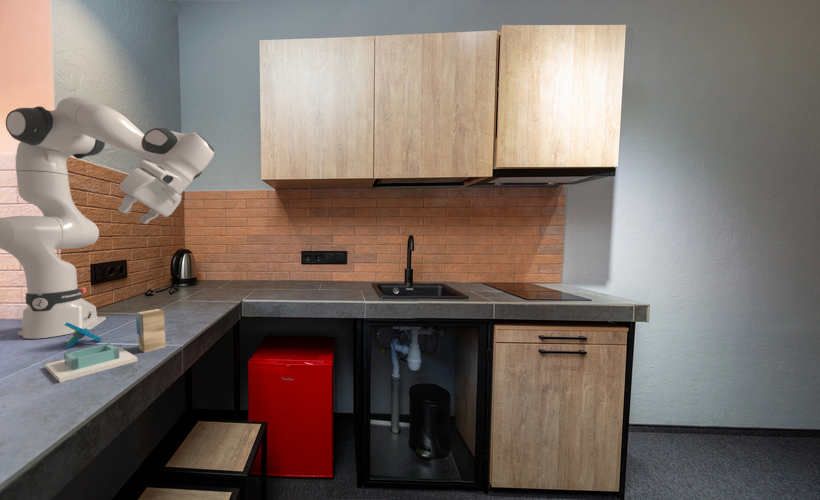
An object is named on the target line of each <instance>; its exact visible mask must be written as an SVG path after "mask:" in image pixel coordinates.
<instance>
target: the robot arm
mask: <svg viewBox="0 0 820 500" xmlns="http://www.w3.org/2000/svg"><path fill="white" fill-rule="evenodd" d="M5 127H6V130H7V132H8V133H9V136H11V138H13V139H14V140H16V141H18V142H19V143H18V144H17V149H16V153H15V155H16V156H15V172H16V181H17V190H18V195H19V197H20V198H21V199H22V200H23V201H25V202H27V203H29V204H31V205H34V206H36V207H37V208H38V209H39V210H40V211H41V213H42V215H43V216H41V215H38V216H37V215H14V216H5V217H0V249H1V250H3V251H5V252H7V253H8V254H10V255H12V256H13V257H14V258H15V259H16V260H17V261H18V262H19V264H20V265H21V268H22V269H23V272H24V277H25V281H26V288H27V292H26V293H25V297H24V299H25V304H26V305H27V307H26V308H24V309H23V311H22V319H21V320H22V323H21V331H18V333H17V335H18V336H19V337H22V338H23V339H30V340H32V339H44V338H45V339H46V338H53V337H59V336H64V335H70V334H74V333H75V332H74V331H75V330H74V329H71V328H70V327H67V326H65V325H64V324H66V323H67V322H68V323H70V324H72V325H74V326H76V327H79V328H81V329H85V328H86V329H88V331H89V330H92V329H95V328H96V327H97V326H98V325H100V324H101V323H103V322H104V321H106V320H107V317H106V316H102V315H101V316H98V313H97V307H96V305H94V304H92V303H90V302H89V301H87V300H85V299H84V298H83V294H86V293H87V289H86V287H78V277H77V276H78V275H77V268H76V265H75V266H74V265H73V264H72V263H71V262H68V261H66V260H63V259H60V258H59V256H58V255H57V253H56V251H55V250H65V249H68V250H69V249H78V248H79V249H80V248H85V247H88V246H91V245H94V244H95V243H96V242H97V241H98V239H99V237H100V230H99V228H98V226H97V225H96V223H95V222H93V220H90V219H89V218H88V217H86V216H85V215H84V214H83V213H82V212H81V211H80V210H79V209H78V208H77V205H76V204H75V202H74V200H73V197H72V194H71V188H70V181H69V172H68V166H67V165H68V163H67V161H68V159H69V158H70V157H71V156H72V157H74V158H75V159H77V160H79V159H84V158H85V157H91V156H96V155H98V154H100V153H101V152H102V151H103V150H104V148H105V146H106V144H107V145H111V146H113V147H116V148H119V149H121V150H123V151H126V152H129V153H132V154H134V155H135V156H138V157H141V158H143V159H144V160H142V161H140V163H139V164H138V167H137V168H135V169H133V170H132V171H131V172H130V173H129V174H128V175H126V177H125V178H124V179H123V180H122V181H121V182H120V183H119V184H120V185H119V189H120V190H121V192H124V193H126V194H125V196H124V197H123V199H122V203H121V205H119V207H118V208H117V210H118V211H119V212H121V213H123V214H126V215H127V214H128V215H129V213H130V212H131V211H132V209H131V208H132V206H133V204H136V202H138V201H139V202H140V203H142V204H143V205H145V206H146V207H148V208H150V209H149V210H148V212H147V213H145V214H144V215H141V216H140V217H139V218H138V221H140V222H141V223H142V224H144V225H147V224H149V222H150V221H151V220H154V219H156V218H157V217H158V216H159V215H161V216H163V217H165V218H167V217H170V216H171V215H172V214H173V212H174V211H175V210H176V208H177V207H179V205H180V204H181V201H182V197H183V195H182V194H183V192H184V191H185V190H186V189H187V188H188V186H190V184H191V183H192V182H193V180H195V179H198V178H199V177H200V176H201V175H202V173H203V170H205V168H206V167H207V166H208V165H209V163H210V162H211V161H212V159H213V158H214V155H215V149H214V148H213V146H212V145H211V144H210V143H209V142H208V141H207V140H206V139H205V138H204V137H203V136H201V135H200V134H199V133H197V132H194V131H193V132H189V133H182V132H177V131H173V130H170V129H168V128H164V127H155V128H150V129H149V130H148V131H147V132H145V133H143V132H142V131H141V130H140V128H138V127H137V126H136V125H135V124H133V122H131V121H130V120H129V119H128V118H127V117H126V116H124V115H123V114H122V113H121V112H118V111H117V110H115V109H114V108H112V107H110V106H108V105H105V104H103V103H100V102H97V101H94V100H91V99H86V98H80V97H71V96H70V97H65V98H63V99H61V100H60V101H58V103H57V106H56V108H55V109H54V110H48V109H46V108H45V107H44V106H41V105H39V106H35V107H19V108H16V109H13V110H10V111H9V112H8V114H7V115H6V117H5Z"/></svg>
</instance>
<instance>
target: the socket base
mask: <svg viewBox="0 0 820 500" xmlns="http://www.w3.org/2000/svg"><path fill="white" fill-rule="evenodd" d="M63 355H64V358H63V359H62V360H61V359H60V360H56V361H52V362H49V363H45V365H44V366H45V370H47V371H48V373H50V374H51V375H52V376H53V377H54V378H55V380H56V381H57V380H58V381H59V382H58V381H57V382H58V383H59V384H60V383H64V382H67V380H68V381H71V380H75V379H78V378H82V377H86V376H89V375H92V374H93V375H94V374H95V373H99V372H103V371H104V372H105V371H106V370H110V369H115V368H118V367H121V366H125V365H128V364H132V363H135V362H138V361H139V360H138V356H136V355H135V354H132V353H131V352H129V351H128V350H125V349H124V348H122V347H121V346H115V345H113V344H111V343H110V342H108V343H104V344H100V345H97V346H92V347H87V348H82V349H79V350H74V351H69V352H64V353H63Z"/></svg>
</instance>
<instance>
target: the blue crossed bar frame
mask: <svg viewBox="0 0 820 500" xmlns="http://www.w3.org/2000/svg"><path fill="white" fill-rule="evenodd" d="M64 325H65V326H67V327H70V328H71V329H74V330H75V331H74V333H72V337H71V338H70V339H69V340H68V341H67V342H66V343H67V344H66V347H67V348H69V349H71V347H73V346H74V345H75V344H76V343H77V342H78V341H79V340H81V339H82V338H84V337H85V336H87V337H88V338H91V339H92V340H96V341H98V342H101V341H102V339H103V338H101V337H99V336H97V335H95V334H93V333H91V332H90V331H89V330H88V329H86V328H85V329H81V328H79V327H76V326H74V325H72V324H70V323H68V322H67V323H66V324H64Z"/></svg>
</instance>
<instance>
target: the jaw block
mask: <svg viewBox="0 0 820 500" xmlns="http://www.w3.org/2000/svg"><path fill="white" fill-rule="evenodd" d="M135 322H136V334H137V336H138V349H139V351H141V352H142V353H145V354H146V353H149V352H152V351H156V350H161V349H164V348H166V347H167V346H166V344H167V343H166V324H165V310H164V309H163V310H162V309H159V308H155V309H150V310H146V311H144V310H143V311H139V312H135Z"/></svg>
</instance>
